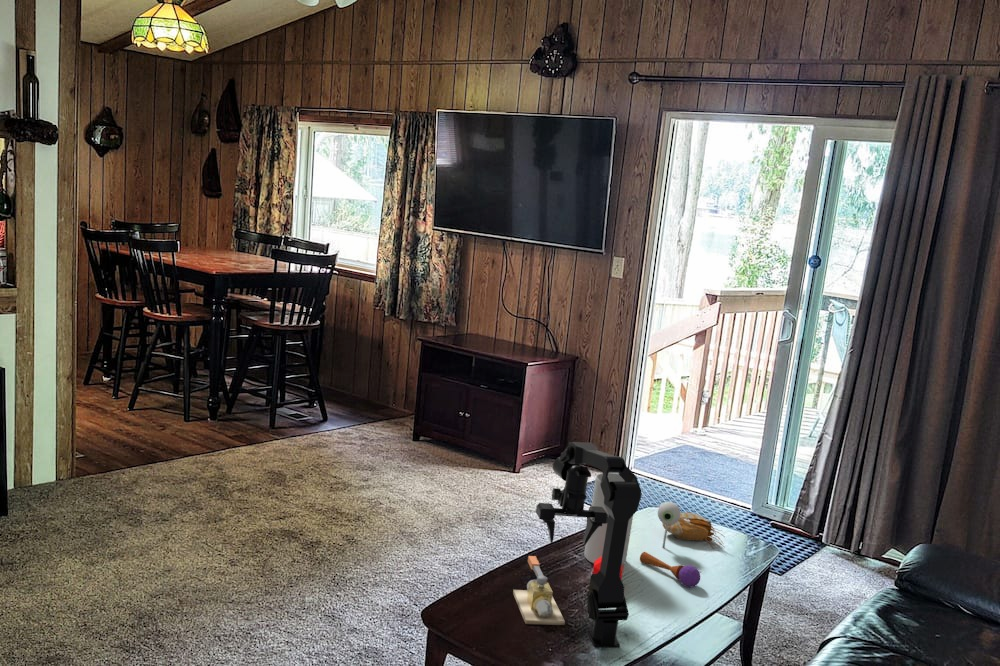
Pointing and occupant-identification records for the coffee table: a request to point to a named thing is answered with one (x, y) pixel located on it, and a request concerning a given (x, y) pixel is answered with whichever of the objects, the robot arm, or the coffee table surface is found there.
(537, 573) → the valve lever
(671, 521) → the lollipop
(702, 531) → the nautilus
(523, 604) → the valve board
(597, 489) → the cylinder vase
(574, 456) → the robot arm
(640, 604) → the coffee table surface
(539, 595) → the valve
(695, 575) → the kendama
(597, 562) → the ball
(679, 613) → the coffee table surface
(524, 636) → the coffee table surface
